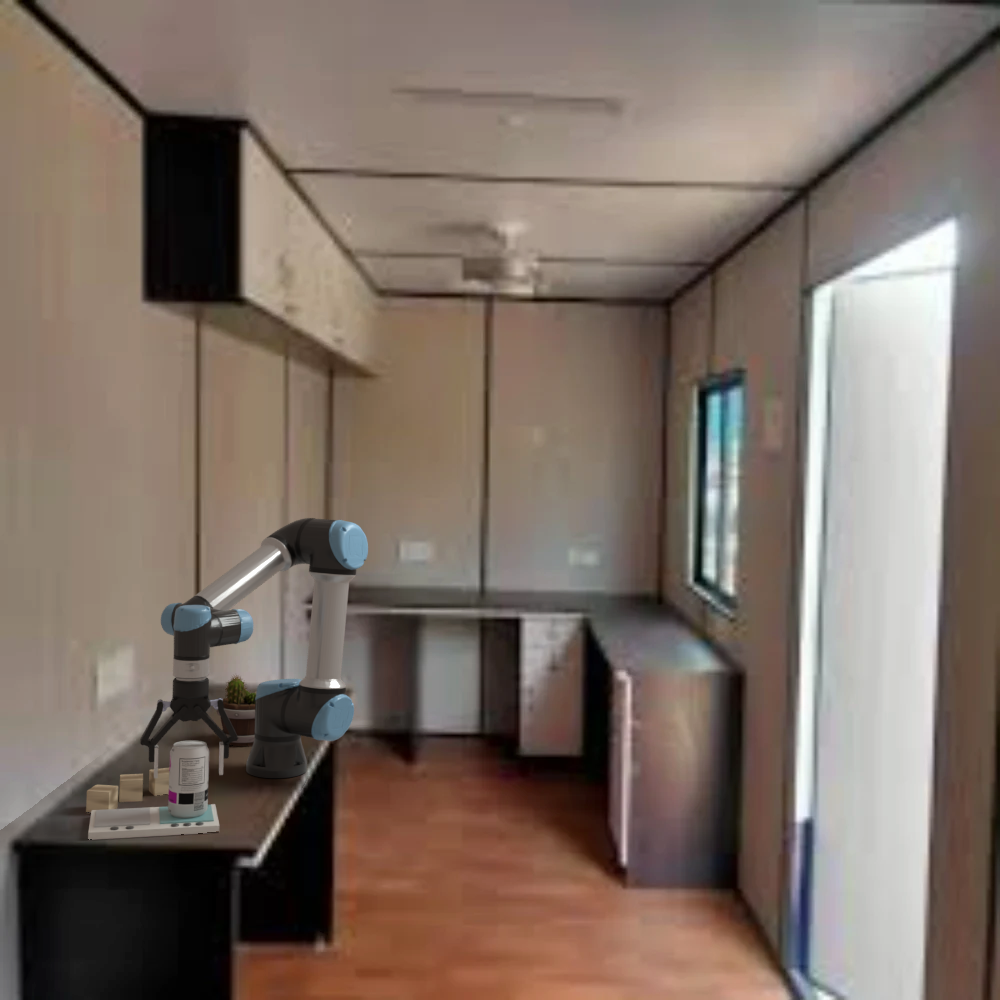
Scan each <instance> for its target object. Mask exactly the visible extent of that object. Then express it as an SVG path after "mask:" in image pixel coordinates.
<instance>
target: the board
mask: <svg viewBox="0 0 1000 1000" xmlns="http://www.w3.org/2000/svg"><path fill="white" fill-rule="evenodd" d="M216 831H219V832H220V821H219V815H218V810H217V807H216V804H215V803H212V804H208V808H207V811H206V812H205V813H204V814H203V815H201V816H198V817H193V818H178V817H174V816H172V815H171V813H169V812H168V806H151V807H148V806H147V807H133V808H130V807H129V808H128V807H127V808H116V809H106V810H92V811H91V814H90V818H89V826H88V833H87V839H89V840H88V841H94V840H111V839H113V840H114V839H128V838H130V839H131V838H145V837H146V838H147V837H149V838H150V837H164V836H166V837H167V836H181V834H184V835H199V834H198V833H203V834H208V833H207V832H216ZM90 839H92V840H90Z"/></svg>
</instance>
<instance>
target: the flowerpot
mask: <svg viewBox="0 0 1000 1000" xmlns="http://www.w3.org/2000/svg"><path fill="white" fill-rule="evenodd" d="M225 683H226V684H225V689H224V690H225V694H224V696H225V697H224V698H222V700H223V705H224V710H225V712H226V714H227V716H228V718H229V720H230V722H231V724H232V726H233V728H234V730H235V732H236V734H237V737H238V740H237V741H233V742H231V743H230V745H229V746H232V745H233V747H246V746H248V747H252V746H253V743H254V738H255V698H256V692H257V690H255V692H252V690H251V689H249V688H248V686H247V681H246V682H245V681H243V679H242V676H240V674H235V675H232V676H231V677H230V679H229V680H228V681H225ZM216 714H217V715H218V716H220V714H219V711H218V710H216ZM220 722H221V726H222V729H221V730H222V731H223V732H224V733H225V734H226V736H229V735H230V734H229V732H228V730H227V728H226V726H225V724H224V722H223V720H222V718H221V716H220Z"/></svg>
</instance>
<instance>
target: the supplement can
mask: <svg viewBox="0 0 1000 1000" xmlns="http://www.w3.org/2000/svg"><path fill="white" fill-rule="evenodd" d="M168 768H169V794H168V797H167V798H168V800H167V807H168V812H169V813H171V815H172V816H174V817H178V818H193V817H198V816H201V815H203V814H204V813H205V812H206V811H207V808H208V805H209V804H208V803H209V778H210V776H209V775H210V750H209V748H208V745H207V742H206V741H202V740H193V739H192V740H191V739H190V740H181V741H177V742H174V743H173V745H172V748H171V749H170V750H169V767H168Z"/></svg>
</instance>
